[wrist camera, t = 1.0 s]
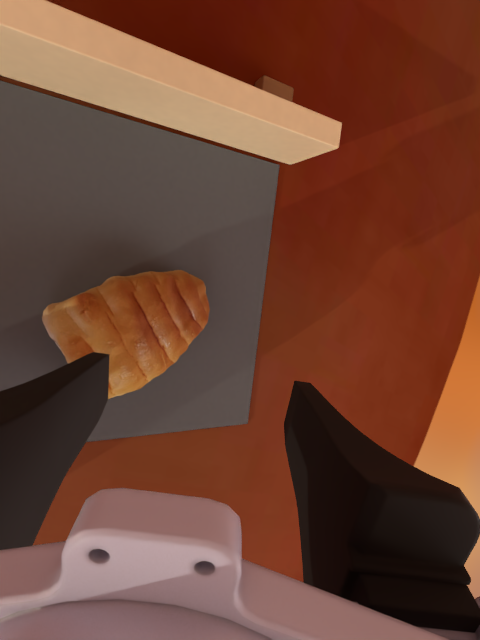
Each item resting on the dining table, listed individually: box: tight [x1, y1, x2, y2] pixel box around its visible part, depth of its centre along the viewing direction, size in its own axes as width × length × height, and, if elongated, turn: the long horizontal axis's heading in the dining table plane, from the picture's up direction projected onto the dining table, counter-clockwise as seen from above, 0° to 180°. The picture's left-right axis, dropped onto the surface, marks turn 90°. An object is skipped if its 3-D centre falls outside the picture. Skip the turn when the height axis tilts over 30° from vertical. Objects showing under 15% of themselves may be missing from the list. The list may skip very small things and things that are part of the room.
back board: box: [0, 0, 342, 165], centre depth 19 cm, size 4×22×5 cm, turn 83°
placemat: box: [0, 81, 279, 442], centre depth 22 cm, size 20×20×1 cm
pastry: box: [42, 270, 210, 399], centre depth 21 cm, size 9×7×4 cm
